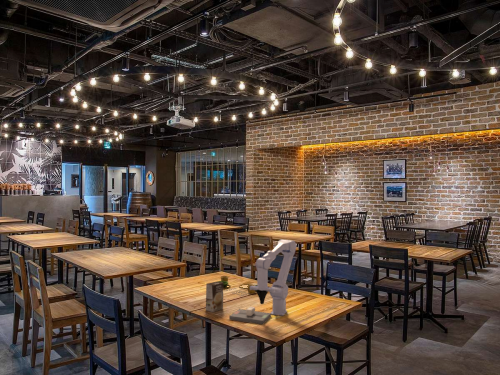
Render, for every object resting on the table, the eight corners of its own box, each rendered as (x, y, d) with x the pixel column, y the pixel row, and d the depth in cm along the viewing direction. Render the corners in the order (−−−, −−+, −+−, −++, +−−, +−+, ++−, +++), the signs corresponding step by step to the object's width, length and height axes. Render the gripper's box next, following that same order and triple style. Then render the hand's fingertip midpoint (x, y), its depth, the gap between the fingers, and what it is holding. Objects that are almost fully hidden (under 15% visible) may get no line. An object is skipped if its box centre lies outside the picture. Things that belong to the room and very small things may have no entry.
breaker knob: (246, 315, 220) (246, 309, 220) (250, 312, 226) (250, 306, 226) (251, 315, 219) (251, 310, 219) (254, 312, 225) (254, 307, 225)
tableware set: (205, 286, 297) (205, 278, 297) (232, 281, 316) (232, 273, 316) (242, 297, 267) (243, 288, 267) (270, 290, 287) (270, 282, 287)
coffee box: (212, 312, 232) (213, 285, 232) (205, 310, 236) (205, 283, 236) (223, 308, 239) (223, 282, 240) (216, 306, 243) (216, 281, 244)
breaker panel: (229, 319, 220) (229, 315, 220) (239, 312, 233) (239, 308, 233) (262, 324, 212) (262, 320, 212) (271, 316, 225) (271, 313, 226)
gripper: (247, 279, 219) (247, 304, 219) (272, 282, 214) (272, 307, 214) (252, 277, 226) (252, 300, 226) (276, 279, 220) (276, 303, 220)
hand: (262, 303), depth 220 cm, fingers closed
